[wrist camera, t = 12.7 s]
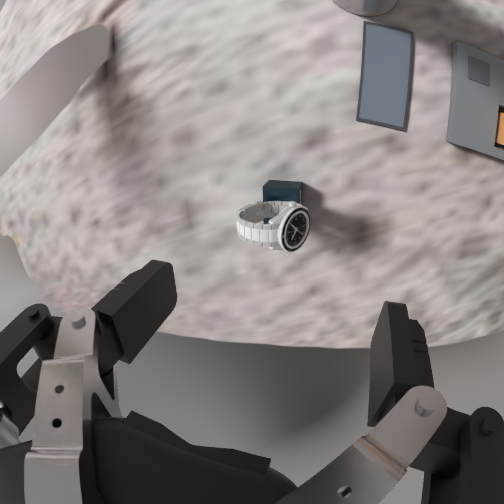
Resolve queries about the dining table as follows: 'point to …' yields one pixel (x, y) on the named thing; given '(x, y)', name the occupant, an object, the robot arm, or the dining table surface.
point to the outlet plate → (475, 99)
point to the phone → (385, 75)
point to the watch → (276, 218)
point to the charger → (500, 129)
